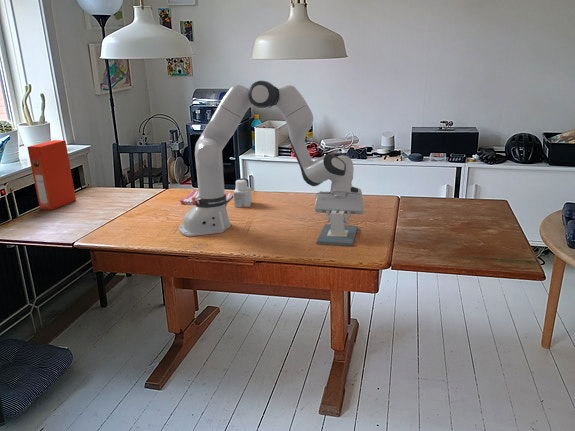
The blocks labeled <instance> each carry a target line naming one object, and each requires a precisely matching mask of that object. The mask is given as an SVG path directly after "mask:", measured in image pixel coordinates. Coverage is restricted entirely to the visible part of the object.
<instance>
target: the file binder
mask: <svg viewBox="0 0 575 431" xmlns="http://www.w3.org/2000/svg"><path fill="white" fill-rule="evenodd" d="M26 148H27V154H28V157H29V162H30V167H31V171H32V177H33V181H34V187H35V192H36V195H37V196H36V197H37V201H38V206H39V209H40V210H45V211H53V210H55V209H58V208H61V207H63V206H65V205H68V204H71V203H72V202H75V201H77V196H76V190H75V186H74V185H75V184H74V181H73V174H72V169H71V163H70V157H69V154H68V153H69V152H68V148H67V142H66V140H64V139H63V140H60V139H58V140H57V139H52V140H49V141H45V142H42V143H37V144H33V145H29V146H27V147H26Z"/></svg>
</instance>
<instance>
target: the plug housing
mask: <svg viewBox="0 0 575 431" xmlns="http://www.w3.org/2000/svg"><path fill="white" fill-rule="evenodd" d="M345 215H346V214H345V211H339V210H332V212H331V213H330V217H331V222H330V224H331V234H334V235H343V234H344V230H345V225H346V223H344V218H346V216H345Z"/></svg>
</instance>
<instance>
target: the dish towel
mask: <svg viewBox="0 0 575 431" xmlns="http://www.w3.org/2000/svg"><path fill="white" fill-rule="evenodd" d="M225 194H226V200H227V202H228V201H230V200H231V199H232V198H234V193H231V192H225ZM198 196H199V190H194V189H193V190H191V192H190V193H189V194H188V195H187V196H185V197H182V198H180V200H179V202H180V204H181V205H190V206H193V205H194V206H195V202H193V201H192V197H196V198H197V197H198Z"/></svg>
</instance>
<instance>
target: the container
mask: <svg viewBox="0 0 575 431" xmlns="http://www.w3.org/2000/svg"><path fill="white" fill-rule="evenodd" d="M234 183H235V184H234V185H235V189H234V191H233V201H234V204H233V205H234V207H235V208H247V207H248V208H249V207H251V205H252V201H253V200H252V188H251V187H250V181H249V179H248V178H244V177H243V178H242V177H241V178H238V179H236V180H235V181H234Z"/></svg>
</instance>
